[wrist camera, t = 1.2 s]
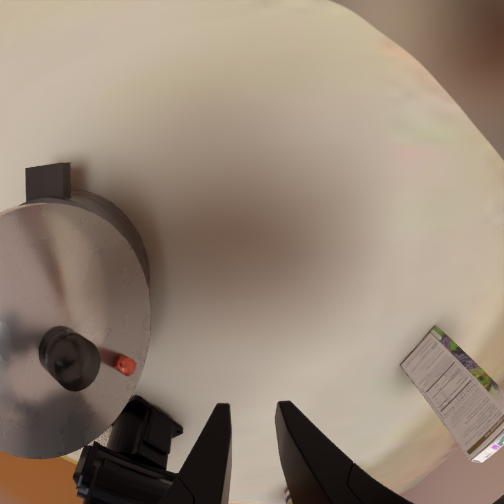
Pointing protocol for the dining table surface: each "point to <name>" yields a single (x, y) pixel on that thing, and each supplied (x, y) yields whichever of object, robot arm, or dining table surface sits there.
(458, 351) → the syrup box
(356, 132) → the dining table surface
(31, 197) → the cooker pot
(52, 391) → the cooker lid
